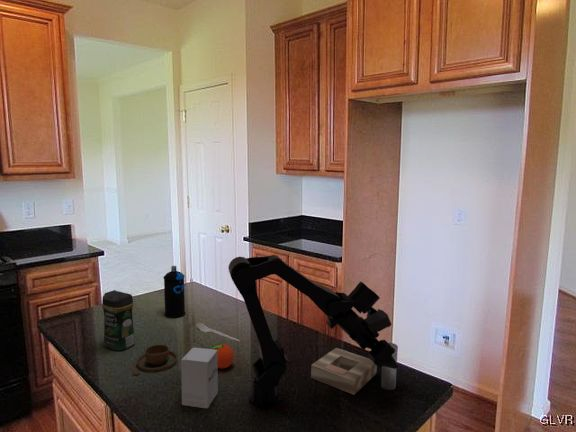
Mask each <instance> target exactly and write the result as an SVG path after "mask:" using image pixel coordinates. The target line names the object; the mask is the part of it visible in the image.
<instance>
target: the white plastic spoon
mask: <svg viewBox="0 0 576 432" xmlns="http://www.w3.org/2000/svg"><path fill="white" fill-rule="evenodd" d="M196 326H197V328H198V329H199V330H200V331H202V332H205V333H213V334H216V335H218V336H221V337H224V338H228V339H231V340H233V341H236V342H240V339H238V338H235V337H234V336H233V337H232V336H230V335H227V334H226V333H223V332H220V331H218V330H215V329H213V328H210V327H207V326H206V325H205V324H203V322H198V323H196Z"/></svg>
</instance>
